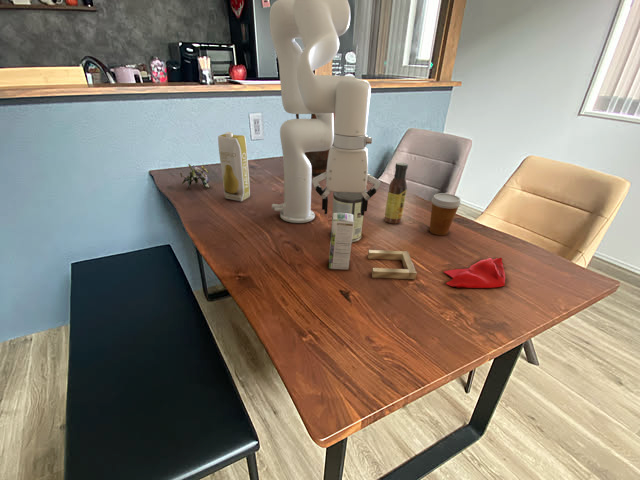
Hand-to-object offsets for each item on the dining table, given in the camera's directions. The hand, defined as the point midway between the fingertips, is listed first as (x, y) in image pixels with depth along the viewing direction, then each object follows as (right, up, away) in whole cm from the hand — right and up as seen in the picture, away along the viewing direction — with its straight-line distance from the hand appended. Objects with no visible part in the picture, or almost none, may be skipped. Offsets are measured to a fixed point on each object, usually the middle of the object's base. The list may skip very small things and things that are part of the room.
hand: (343, 213), depth 96 cm
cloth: (+40, -16, +8) cm, 44 cm away
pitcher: (-8, +43, +82) cm, 93 cm away
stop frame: (+14, -13, +10) cm, 22 cm away
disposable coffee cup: (+35, +3, +32) cm, 48 cm away
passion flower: (-58, +27, +58) cm, 86 cm away
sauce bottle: (+20, +8, +38) cm, 44 cm away
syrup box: (-1, -12, +10) cm, 16 cm away
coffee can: (+2, 0, +26) cm, 26 cm away
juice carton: (-39, +21, +50) cm, 67 cm away
